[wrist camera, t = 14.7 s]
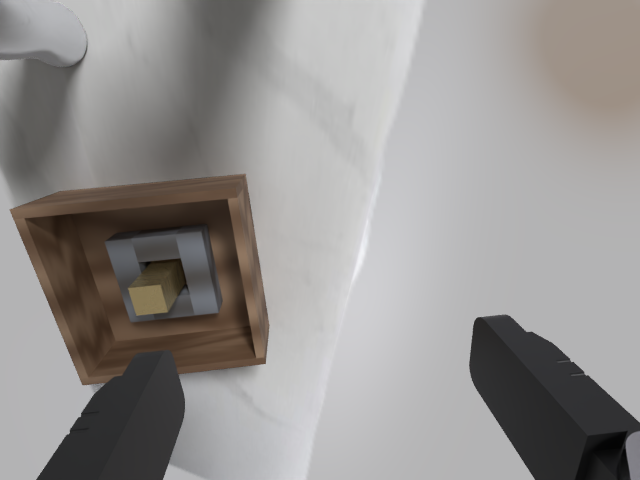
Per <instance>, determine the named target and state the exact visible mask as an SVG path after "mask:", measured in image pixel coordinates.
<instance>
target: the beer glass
mask: <svg viewBox="0 0 640 480" xmlns="http://www.w3.org/2000/svg"><path fill="white" fill-rule="evenodd" d="M86 47H87V37H86V33H85V29H84V27H83V25H82V23H81V21H80V20H79V18H78V17H77V16H76V14H75V13H74V12H73V11H72V10H71V9H69V8H68V7H67V6H65V5H63V4H62V3H59V2H57V1H54V0H0V60H18V59H28V58H36V59H39V60H41V61H43V62H45V63H47V64H50V65H53V66H56V67H69V66H72V65H74V64H76V63H78V62H79V61H80V60H81V59H82V58H83V56H84V54H85V51H86Z"/></svg>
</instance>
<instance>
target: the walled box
mask: <svg viewBox="0 0 640 480" xmlns="http://www.w3.org/2000/svg"><path fill="white" fill-rule="evenodd" d="M10 211H11V214H12V217H13V219H14V221H15V224H16V226H17V229H18V231H19V233H20V236H21V238H22V241H23V243H24V245H25V248H26V250H27V253H28V255H29V257H30V260H31V262H32V265H33V267H34V270H35V272H36V274H37V277H38V279H39V282H40V284H41V286H42V289H43V291H44V294H45V296H46V298H47V301H48V303H49V306H50V308H51V310H52V313H53V315H54V318H55V320H56V323H57V325H58V327H59V330H60V332H61V335H62V337H63V339H64V342H65V344H66V347H67V349H68V351H69V354H70V356H71V358H72V361H73V363H74V366H75V368H76V370H77V373H78V375H79V378H80V380H81V382H82V385H90V384H98V383H107V382H109V381H110V380H111V379H112V378H113V377H115V376H122V375H123V373H124V371H125V370H126V368H127V367H128V365H129V363H130V362H131V360H132V359H133V357H134V356H135V355H136V354H137V353H143V352H152V351H161V350H170V351H171V353H172V355H173V357H174V361H175V364H176V368H177V372H178V374H184V373H192V372H201V371H209V370H218V369H226V368H235V367H243V366H252V365H260V364H266V354H267V344H268V334H269V321H268V314H267V308H266V302H265V295H264V289H263V282H262V276H261V270H260V263H259V257H258V250H257V244H256V238H255V231H254V225H253V219H252V212H251V206H250V199H249V193H248V187H247V180H246V174H240V175H229V176H218V177H208V178H197V179H186V180H176V181H165V182H154V183H144V184H133V185H122V186H112V187H101V188H90V189H80V190H69V191H60V192H57V193H54V194H51V195H49V196H46V197H43V198H40V199H38V200H35V201H32V202H29V203H27V204H24V205H21V206H18V207H16V208H13V209H10ZM177 258H181V261H182V265H183V269H184V273H185V277H186V283H185V285H184V286H183V288H182V290H181V291H180V293H179V295H178V296H177V298H176V300H175V301H174V303H173V305H172V306H171V308H170V310H169V311H168V312H165V313H156V314H147V315H138V316H136V313H135V310H134V306H133V303H132V300H131V297H130V294H129V290H128V287H129V286H130V285H131V284H132V283H133V282H134V281H135V280H136V279H137V277H138V276H139V275H140V274H141V273H142V272H143V271H144V270H145V269H146V268H147V266H148V265H149V264H150V263H151V262H152V261H157V260H167V259H177Z"/></svg>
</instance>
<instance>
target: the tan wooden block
mask: <svg viewBox="0 0 640 480" xmlns="http://www.w3.org/2000/svg"><path fill="white" fill-rule="evenodd" d="M185 283H186V277H185V273H184V269H183V265H182V261H181V258H177V259H167V260H157V261H152V262H151V263H150V264H149V265H148V266H147V268H146V269H145V270H144V271H143V272H142V273H141V274H140V275H139V276H138V277H137V279H136V280H135V281H134V282H133V283H132V284H131V285H130V286H129V287H128V290H129V294H130V297H131V300H132V303H133V306H134V310H135V313H136V316H138V315H147V314H156V313H165V312H168V311H169V310H170V308H171V306H172V305H173V303H174V301H175V300H176V298H177V296H178V295H179V293H180V291H181V290H182V288H183V286H184V285H185Z"/></svg>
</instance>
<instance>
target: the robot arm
mask: <svg viewBox="0 0 640 480" xmlns="http://www.w3.org/2000/svg"><path fill="white" fill-rule="evenodd" d="M469 366H470V373H471V378H472V381H473V383H474V386H475V387H476V389H477V391H478V392H479V394H480V395H481V397H482V398H483V400H484V402H485V403H486V405H487V406H488V408H489V409H490V411H491V412H492V414H493V415H494V417H495V418H496V420H497V421H498V423H499V425H500V426H501V427H502V429H503V431H504V432H505V434H506V435H507V437H508V438H509V440H510V441H511V443H512V444H513V446H514V448H515V449H516V451H517V452H518V454H519V455H520V457H521V459H522V460H523V461H524V463H525V465H526V466H527V468H528V469H529V471H530V472H531V474H532V475H533V477H534V479H535V480H640V423H639V422H638V421H637V420H636V419H635V418H634V417H633V416H632V415H631V414H630V413H628V412H627V411H626V410H625V409H624V408H623V407H622V406H621V405H620V404H619V403H618V402H616V401H615V400H614V399H613V398H612V397H611V396H610V395H609V394H608V393H607V392H606V391H604V390H603V389H602V388H601V387H600V386H599V385H598V384H597V383H596V382H595V381H594V380H592V379H591V378H590V377H589V376H586V375H585V374H584V371H583V370H582V369H580V368H579V367H578V366H577V365H576V364H575V363H574V362H571V361H570V358H568V357H567V356H566V355H565V354H564V353H563V352H562V351H561V350H560V349H559V348H558V347H556V346H555V345H554V344H553V343H551V342H549V341H548V340H546V339H544V338H542V337H540V336H538V335H537V334H535V333H533V332H526V331H524V329H523V328H522V327H521V326H520V325H519V324H518V323H516V321H515V320H513V319H512V318H511V317H510V316H508V315H497V316H488V317H478V318H476V320H475V322H474V326H473V336H472V344H471V353H470V364H469ZM184 412H185V398H184V393H183V389H182V386H181V382H180V379H179V375H178V372H177V368H176V364H175V361H174V357H173V355H172V353H171V351H170V350H161V351H152V352H143V353H137V354H136V355H135V356H134V357H133V359H132V360H131V362H130V363H129V365H128V367H127V368H126V370H125V371H124V373H123V375H122V376H115V377H113V378H112V379H111V380H110V381H109V382H107V383H106V384H105V385H104V386H103V387H102V388H101V389H99V390H98V391H97V392H96V393H95V394H94V395H93V397H92V398H91V400H90V401H89V403H88V404H87V406H86V407H85V409H84V410H83V412H82V413H81V417H79V418H78V419H77V420H76V422H75V424H74V425H73V426H72V428H71V429H70V434H69V435H66V437H65V438H64V440H63V441H62V443H61V444H60V445H59V447H58V449H57V450H56V451H55V453H54V454H53V456H52V458H51V459H50V460H49V462H48V463H47V465H46V466H45V468H44V469H43V471H42V472H41V474H40V475H39V476H38V478H37V479H36V480H163V478H164V475H165V472H166V469H167V466H168V463H169V460H170V457H171V454H172V451H173V448H174V446H175V443H176V440H177V437H178V434H179V431H180V428H181V425H182V422H183V418H184Z"/></svg>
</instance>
